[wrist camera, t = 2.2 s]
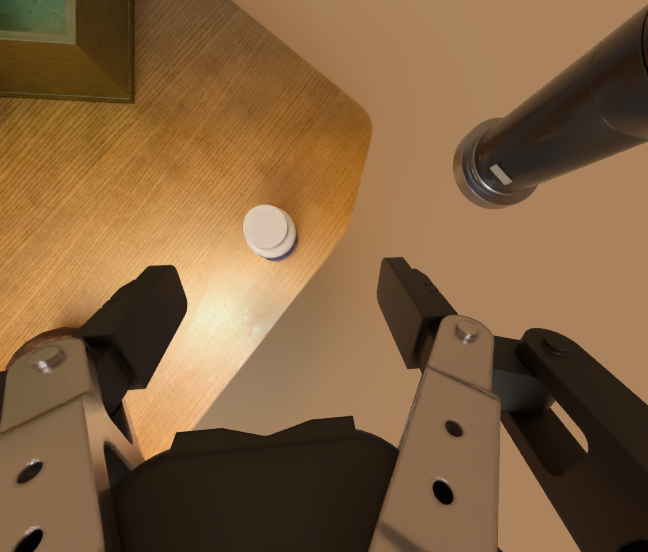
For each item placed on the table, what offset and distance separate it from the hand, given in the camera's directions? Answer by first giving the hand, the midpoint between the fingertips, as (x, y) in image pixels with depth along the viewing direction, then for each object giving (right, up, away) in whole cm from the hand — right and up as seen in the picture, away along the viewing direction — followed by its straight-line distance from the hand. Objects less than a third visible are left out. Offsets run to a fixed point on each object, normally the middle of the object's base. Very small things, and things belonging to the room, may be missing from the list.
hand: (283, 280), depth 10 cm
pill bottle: (-4, +5, +22) cm, 22 cm away
